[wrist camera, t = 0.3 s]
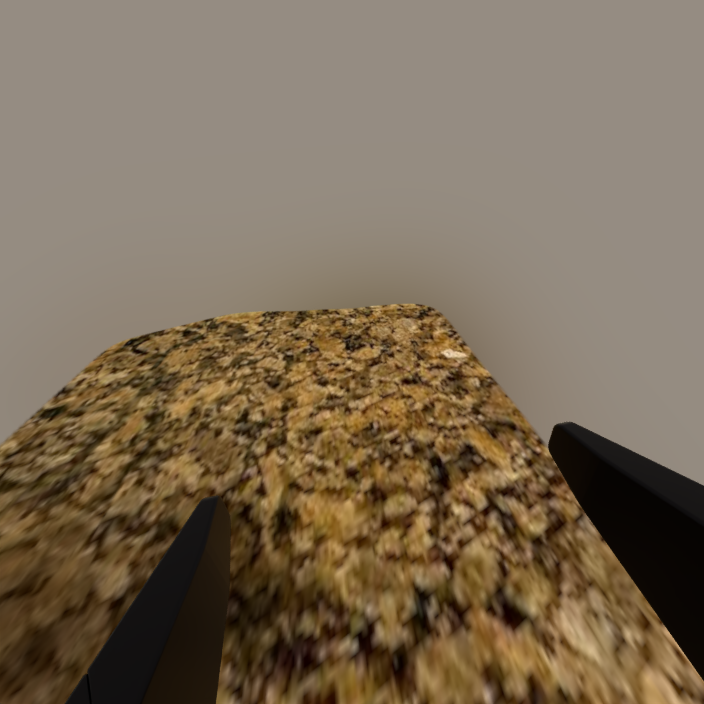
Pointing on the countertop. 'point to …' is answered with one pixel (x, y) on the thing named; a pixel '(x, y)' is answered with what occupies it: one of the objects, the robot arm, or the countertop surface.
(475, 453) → the countertop surface
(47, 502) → the countertop surface
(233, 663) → the countertop surface
